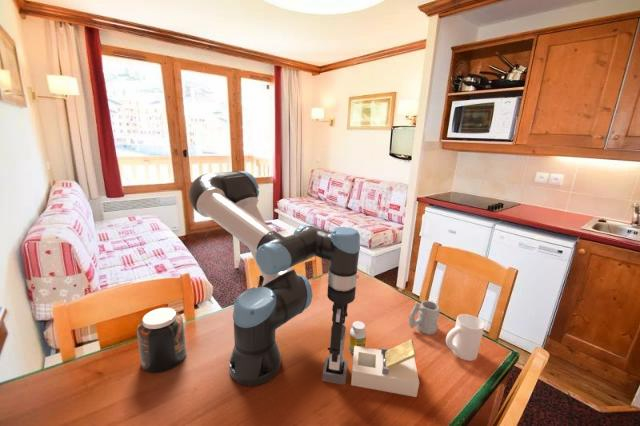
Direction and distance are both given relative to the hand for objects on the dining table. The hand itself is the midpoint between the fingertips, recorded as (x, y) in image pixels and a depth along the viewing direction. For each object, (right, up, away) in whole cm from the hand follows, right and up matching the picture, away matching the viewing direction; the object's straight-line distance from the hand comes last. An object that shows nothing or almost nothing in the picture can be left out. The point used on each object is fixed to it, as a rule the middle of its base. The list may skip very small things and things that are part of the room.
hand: (336, 350), depth 82 cm
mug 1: (+33, -4, +24) cm, 41 cm away
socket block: (+14, -9, +2) cm, 16 cm away
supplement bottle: (+7, -6, +12) cm, 15 cm away
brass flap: (+18, -1, -1) cm, 18 cm away
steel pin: (0, -8, +2) cm, 8 cm away
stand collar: (0, -8, +2) cm, 8 cm away
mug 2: (+42, -7, +13) cm, 44 cm away
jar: (-52, -5, +5) cm, 53 cm away
